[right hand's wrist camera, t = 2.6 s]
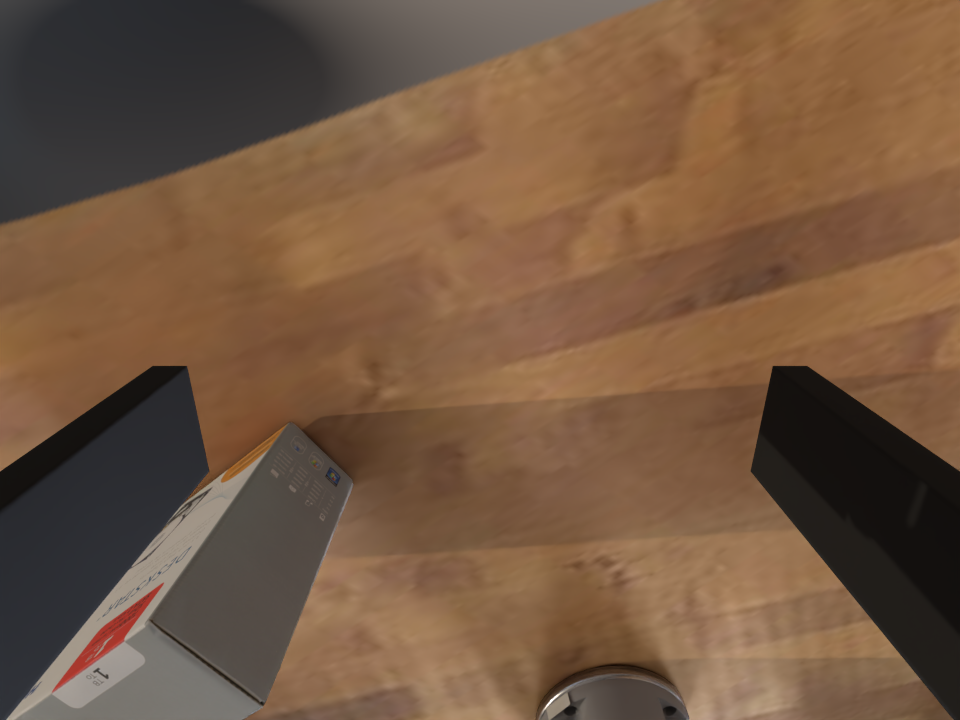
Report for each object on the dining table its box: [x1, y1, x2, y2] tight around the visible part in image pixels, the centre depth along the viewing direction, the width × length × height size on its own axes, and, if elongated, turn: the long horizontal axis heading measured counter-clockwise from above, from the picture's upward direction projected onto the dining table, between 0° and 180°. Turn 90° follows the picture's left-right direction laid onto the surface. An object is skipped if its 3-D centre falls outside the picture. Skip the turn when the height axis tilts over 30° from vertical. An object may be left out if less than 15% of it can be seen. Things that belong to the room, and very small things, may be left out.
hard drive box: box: [7, 422, 353, 720], centre depth 37 cm, size 16×8×20 cm, turn 128°
